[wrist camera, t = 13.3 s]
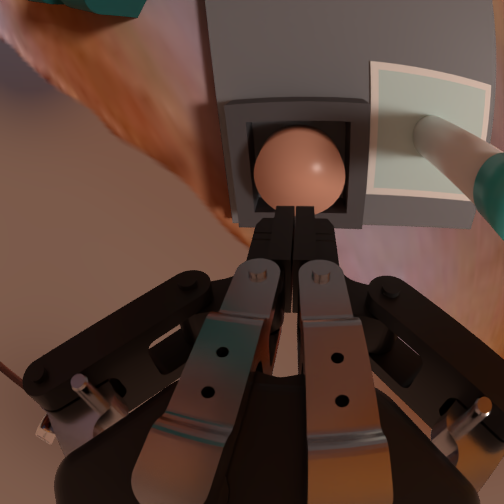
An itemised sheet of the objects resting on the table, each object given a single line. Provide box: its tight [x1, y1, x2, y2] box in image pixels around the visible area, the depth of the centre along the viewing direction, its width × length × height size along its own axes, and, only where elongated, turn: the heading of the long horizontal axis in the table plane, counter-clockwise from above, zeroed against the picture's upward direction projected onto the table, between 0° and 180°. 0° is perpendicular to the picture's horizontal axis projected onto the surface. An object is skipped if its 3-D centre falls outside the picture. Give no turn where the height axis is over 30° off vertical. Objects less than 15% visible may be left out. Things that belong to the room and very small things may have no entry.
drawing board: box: [205, 0, 496, 229], centre depth 14 cm, size 20×19×3 cm
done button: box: [254, 125, 345, 216], centre depth 17 cm, size 5×5×2 cm
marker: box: [413, 115, 504, 240], centre depth 12 cm, size 3×3×10 cm
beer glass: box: [35, 414, 56, 444], centre depth 73 cm, size 7×7×15 cm
